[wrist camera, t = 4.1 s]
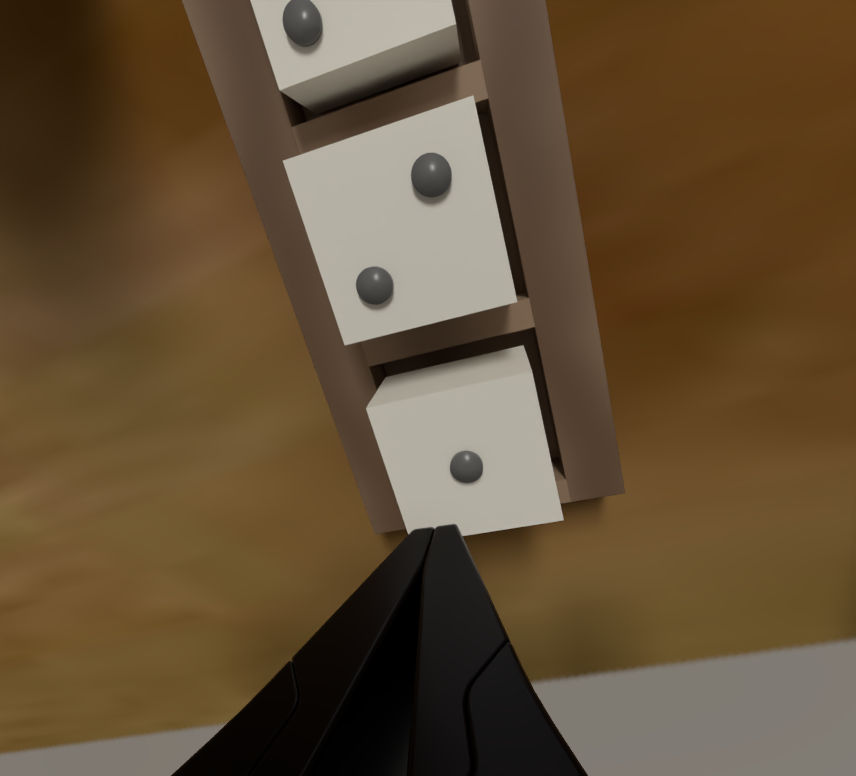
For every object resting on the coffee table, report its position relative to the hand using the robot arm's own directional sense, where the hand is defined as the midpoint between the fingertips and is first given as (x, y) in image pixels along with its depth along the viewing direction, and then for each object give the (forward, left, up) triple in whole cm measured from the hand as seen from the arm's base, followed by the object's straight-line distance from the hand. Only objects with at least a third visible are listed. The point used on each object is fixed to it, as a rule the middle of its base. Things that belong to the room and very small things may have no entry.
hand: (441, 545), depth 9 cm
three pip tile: (0, -13, -10) cm, 16 cm away
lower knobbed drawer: (0, +1, -8) cm, 8 cm away
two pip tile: (0, -6, -8) cm, 10 cm away
